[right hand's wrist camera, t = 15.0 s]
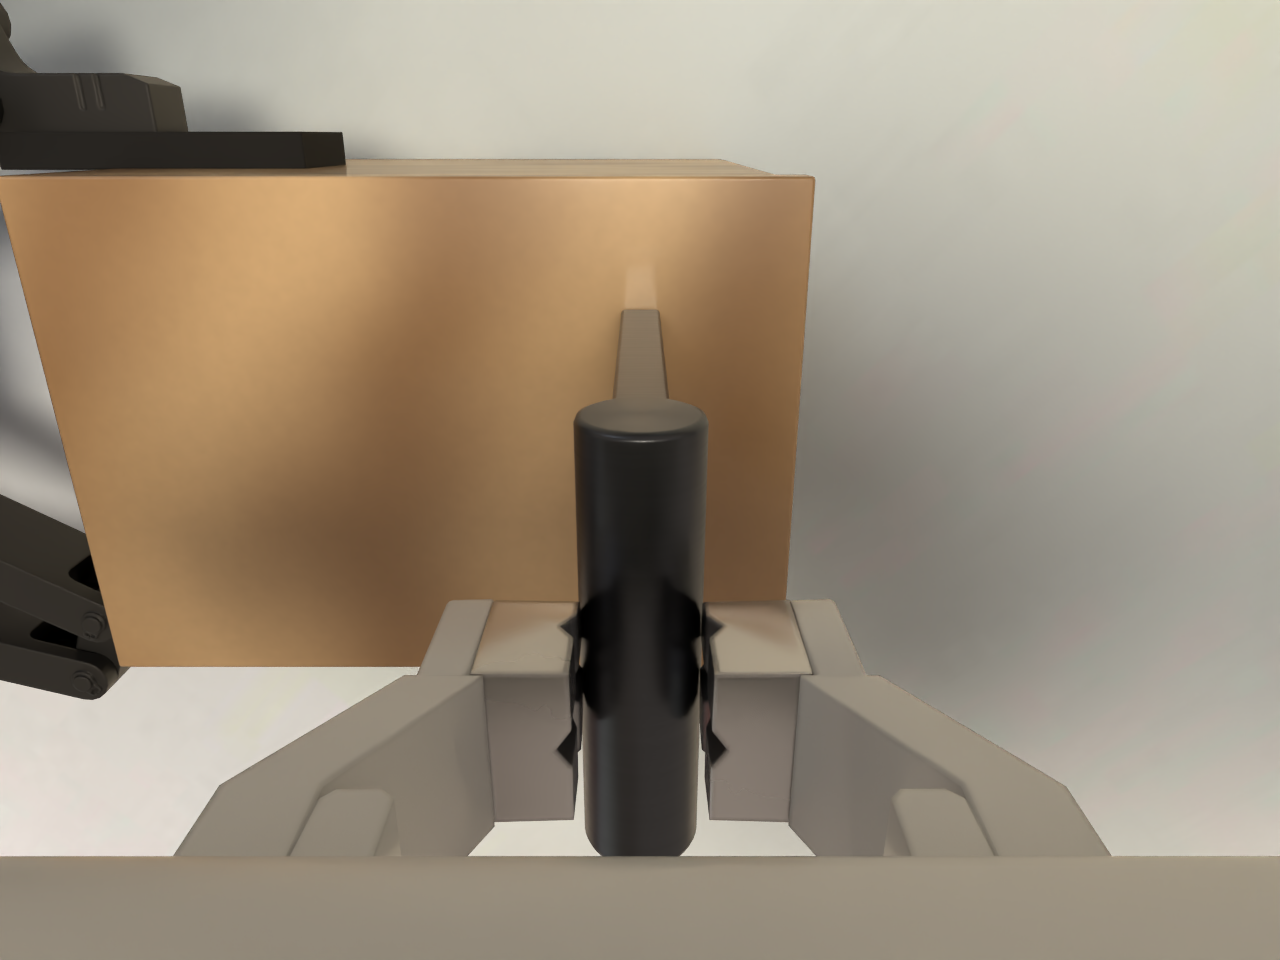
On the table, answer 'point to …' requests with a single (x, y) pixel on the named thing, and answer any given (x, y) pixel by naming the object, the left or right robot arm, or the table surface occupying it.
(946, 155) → the table surface
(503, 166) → the chest
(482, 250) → the lid
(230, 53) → the table surface
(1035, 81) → the table surface
